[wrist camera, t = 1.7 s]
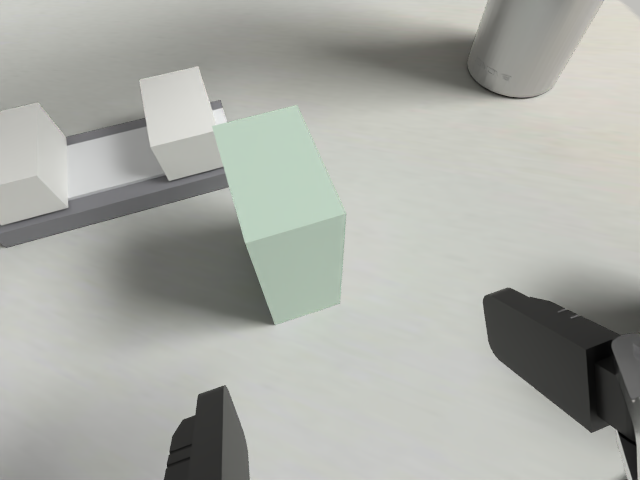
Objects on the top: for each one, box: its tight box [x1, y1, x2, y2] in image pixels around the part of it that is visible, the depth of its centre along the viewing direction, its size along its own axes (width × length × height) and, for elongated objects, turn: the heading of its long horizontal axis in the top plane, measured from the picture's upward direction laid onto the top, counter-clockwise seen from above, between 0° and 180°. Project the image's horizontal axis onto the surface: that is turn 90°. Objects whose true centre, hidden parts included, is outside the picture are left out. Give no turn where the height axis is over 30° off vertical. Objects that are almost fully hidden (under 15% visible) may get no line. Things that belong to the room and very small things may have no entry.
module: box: [212, 105, 346, 325], centre depth 26 cm, size 5×8×12 cm, turn 19°
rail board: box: [0, 66, 229, 248], centre depth 34 cm, size 20×9×6 cm, turn 109°
